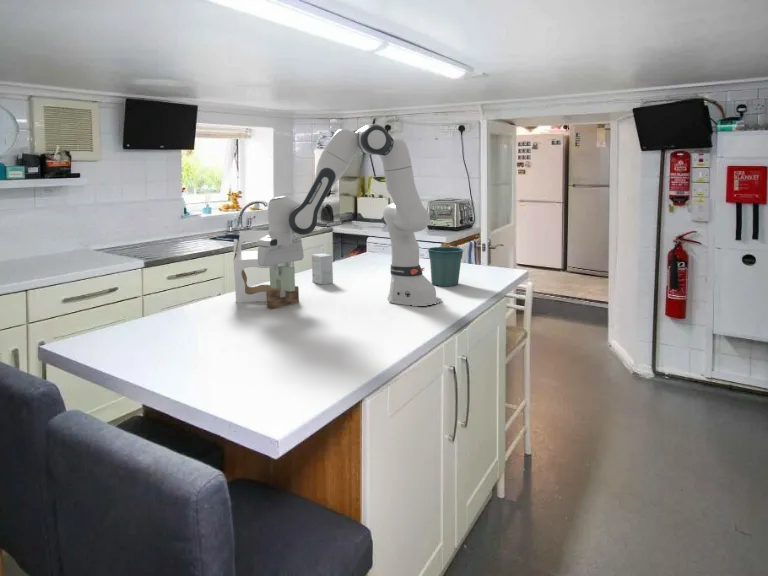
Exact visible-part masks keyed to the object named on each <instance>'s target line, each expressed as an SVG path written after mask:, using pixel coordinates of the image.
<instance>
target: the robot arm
mask: <svg viewBox="0 0 768 576" xmlns="http://www.w3.org/2000/svg"><path fill="white" fill-rule="evenodd" d="M358 153H364V154H366V155H370V156H371V155H376V156H379V157H380V160H381V162H382V167H383V175H384V180H385V186H386V190H387V192H388V194H389V195H390V197H391V200H392V201H393V202H391V203H389V204H387V205H386V206H385V208H384V209H383V213H382V215H383V217H382V218H383V221H384V222H385V224H386V227H387V230H388V233H389V240H390V245H391V264H390V269H389V270H390V274H391V275H390V276H391V277H390V278H391V279H390V285H389V293H388V296H387V300H388V303H390V304H395V305H396V304H397V305H405V306H410V305H412V307H417V306H427V305H432V304H435V303H438V304H440V303H442V302H441V301H443V299H442V298H441V297H437V292H436V287H435V285H433V284H432V282H431V281H430V280H429V279H427V277H426V276H424V275H423V272H425V267H421V265H420V245H419V242H418V240H417V239H416V235H415V233H418V232H422V231H423V230H425V229H426V228H427V227H428V225H429V223H430V214H429V212H428V209H426V208H425V206H424V205H423V203H422V200H421V198H420V195H419V193H418V189H417V186H416V182H415V177H414V172H413V171H414V170H413V166H412V165H413V164H412V160H411V154H410V152H409V148H408V146H407V143H406V142H405V141H404V140H403V139H401V138H399V137H398V138H397V137H394V138H393V137H392V136H391V134H390V133H389V132H388V131H387V129H386V128H384V127H383V126H382V125H379V124H376V123H368V124H366V125H362V126H361V127H358V128H357V129H356V130H354V131H352V130H350V129H349V128H340V129H337V130H336V132H335V133H333V135H332V136H331V138H330V140H329V141H328V142H327V143H326V145H325V147H324V148H323V150H322V152H321V154H320V157H319V159H318V161H317V164H316V172H315V177H314V181H313V183H312V185H311V187H310V189H309V191H308V192H307V194H306V197H305V198H304V200H303V202H302V203H300V202H299V201H298V202H297V201H296V200H294V199H292V198H290V197H289V196H287V195H282V196H275V197H273V198H272V199H269V201H268V205H267V221H268V225H269V227H268V230H269V231H268V232H269V234H268V235H266V236H265V237H263V238H261V239H259V240H258V242H257V245H258V248H257V250H256V251H257V261H258V264H259V265H260V266H270V265H272V267H273V269H274V270H275V275H276V276H279V275H281V271H279V270H278V268H277V267H278V264H282V263H285V264H286V266H289V267H292V262H293V263H294V262H297V261H298V262H299V261H302V260H303V259H304V257H305V256H304V249H303V248H304V247H303V241H302V239H301V238H300V237H299V236H295V237H294V236H293V232H294V233H296V234H298V235H308V234H310V233H312V232H313V231H314V230H315V229H316V227H317V222H318V213H319V210H320V209H321V207H322V204H323V203H324V201H325V200H326V198H327V196H328V193H329V192H330V191H331V189H332V188H333V187H334V186H335V184H337V182H338V181H339V180H340V179H341V178H342V176H343V175H344V174H345V172H346V171H347V169H348V168H349V166H350V164H351V162H352V161H353V159H354V157H355V156H356V155H357V154H358ZM439 302H440V303H439ZM432 306H433V305H432ZM427 307H428V306H427Z"/></svg>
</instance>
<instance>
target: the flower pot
mask: <svg viewBox="0 0 768 576" xmlns="http://www.w3.org/2000/svg"><path fill="white" fill-rule="evenodd" d="M427 251H428V258H429V261H430V262H429V264H430V277H431V278H430V280H431V281H430V282H431V283H432V284H433V285H434V286H439V287H454V286H457V285H458V284H459V281H460V270H461V264H462V263H461V262H462V259H463V253H464V251H465V249H464V248H462V247H455V246H433V247H428V248H427Z"/></svg>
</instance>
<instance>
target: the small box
mask: <svg viewBox="0 0 768 576" xmlns="http://www.w3.org/2000/svg"><path fill="white" fill-rule="evenodd" d="M333 267H334V266H333V254H332V255H331V254H328V253H313V254H311V271H312V272H311V273H312V276H311V277H312V283H315V284H318V285H328V284H333V283H334V279H333V278H334V275H333V274H334V272H333V270H334V269H333Z"/></svg>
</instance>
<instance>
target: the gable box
mask: <svg viewBox="0 0 768 576" xmlns="http://www.w3.org/2000/svg"><path fill="white" fill-rule="evenodd" d="M268 231H269V229H267V230H263V229H262V230H258V229H257V230H241V231H240V232H239V237H238V239H237V238H234V239H233V253H235V254H234V257H233V270H234V271H233V272H234V273H233V275H234V290H235V303H236V302H241V303H257V301H262V302H267V298H266V292H267V291H272V290H280V297H284V296H285V290H284V281H282V280H281V288H272V287H270V284H260V285H256V286H249V285H248V283H247V281H248V277H247V273H246V272H245V269H246V268H247V269H248V268H259V269H269V266H260V265H259V264H258V261H257V251H258V250H251V251H246V250H245V251H243V250H242V244H243V243H256V242H257V243H258V240H259V239H261V238H263V237H265V236H266V235H268V234H269V232H268ZM278 265H283V266H286V264H285V263H282V264H278Z"/></svg>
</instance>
